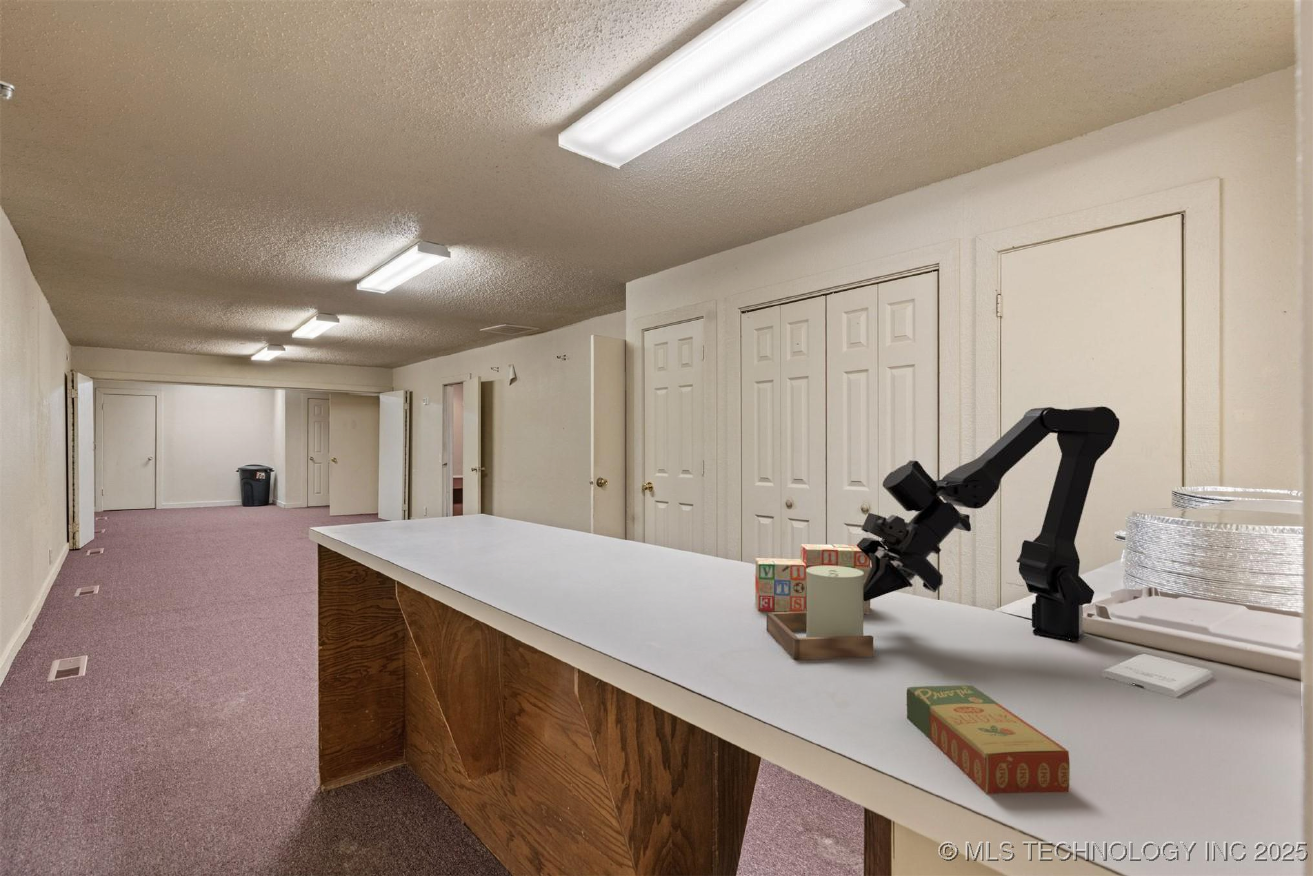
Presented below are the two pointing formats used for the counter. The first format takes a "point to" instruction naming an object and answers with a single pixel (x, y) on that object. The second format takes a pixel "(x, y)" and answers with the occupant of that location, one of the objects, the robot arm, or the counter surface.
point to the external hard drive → (1159, 674)
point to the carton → (988, 740)
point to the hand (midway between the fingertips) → (861, 599)
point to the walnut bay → (814, 639)
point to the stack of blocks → (801, 575)
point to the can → (834, 601)
